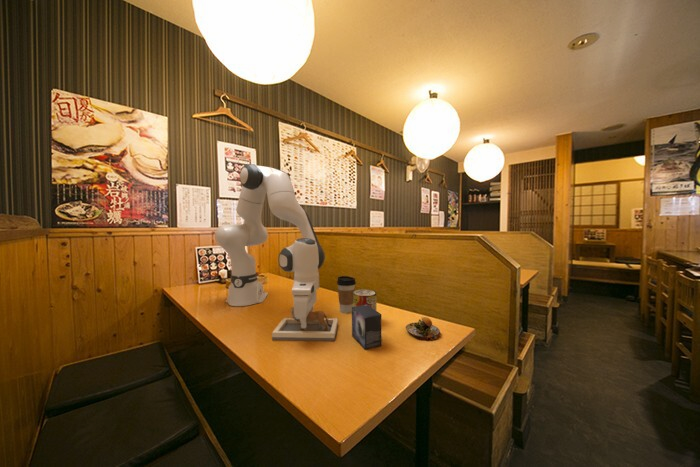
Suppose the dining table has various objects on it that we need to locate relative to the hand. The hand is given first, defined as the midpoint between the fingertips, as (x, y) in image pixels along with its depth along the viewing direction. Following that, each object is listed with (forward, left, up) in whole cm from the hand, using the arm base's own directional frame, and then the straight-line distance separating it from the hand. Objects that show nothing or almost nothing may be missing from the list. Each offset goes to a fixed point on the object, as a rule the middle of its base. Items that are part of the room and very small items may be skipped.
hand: (307, 321), depth 88 cm
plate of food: (0, +41, -4) cm, 41 cm away
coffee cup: (-22, +13, -4) cm, 26 cm away
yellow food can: (-9, +21, -4) cm, 23 cm away
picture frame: (0, 0, -4) cm, 4 cm away
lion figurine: (+1, +1, -3) cm, 3 cm away
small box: (+6, +21, -4) cm, 22 cm away
